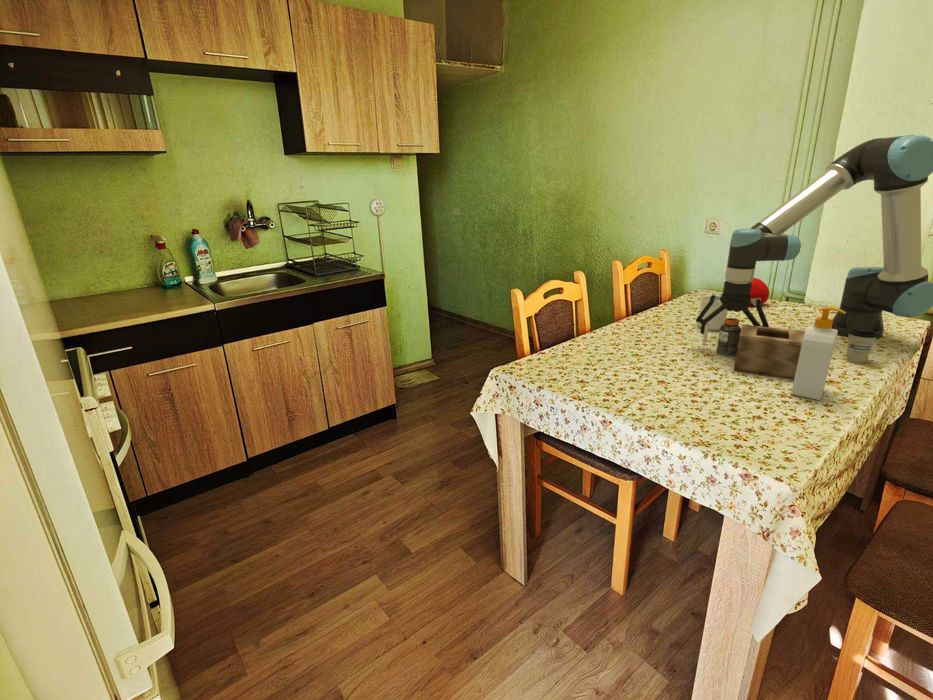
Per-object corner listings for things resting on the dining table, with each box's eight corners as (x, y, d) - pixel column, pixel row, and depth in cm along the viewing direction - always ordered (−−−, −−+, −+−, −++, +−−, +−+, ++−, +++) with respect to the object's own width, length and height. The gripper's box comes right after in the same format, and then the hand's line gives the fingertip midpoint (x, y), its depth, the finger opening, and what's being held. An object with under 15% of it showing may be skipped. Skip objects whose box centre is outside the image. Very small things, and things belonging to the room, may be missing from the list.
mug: (720, 332, 174) (725, 303, 170) (694, 328, 180) (698, 299, 176) (729, 324, 183) (734, 296, 179) (704, 321, 188) (708, 293, 184)
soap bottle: (823, 402, 121) (844, 314, 113) (790, 395, 125) (809, 309, 118) (827, 390, 128) (847, 305, 120) (795, 383, 132) (813, 302, 124)
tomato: (762, 310, 210) (729, 310, 213) (760, 283, 213) (727, 283, 216) (774, 300, 198) (739, 300, 201) (772, 271, 201) (737, 272, 204)
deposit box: (797, 365, 143) (805, 331, 140) (798, 380, 134) (807, 343, 130) (736, 357, 151) (742, 324, 148) (733, 370, 142) (739, 335, 138)
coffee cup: (843, 355, 150) (851, 324, 147) (872, 360, 146) (880, 328, 142) (839, 361, 146) (846, 329, 142) (868, 367, 141) (877, 334, 138)
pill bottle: (736, 351, 157) (742, 317, 153) (737, 357, 152) (743, 322, 148) (716, 348, 159) (721, 315, 155) (716, 354, 154) (721, 320, 150)
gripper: (786, 282, 144) (773, 349, 151) (695, 275, 156) (687, 337, 164) (786, 287, 138) (772, 356, 145) (692, 280, 150) (683, 344, 158)
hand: (727, 346), depth 155 cm, fingers open, 13 cm apart
